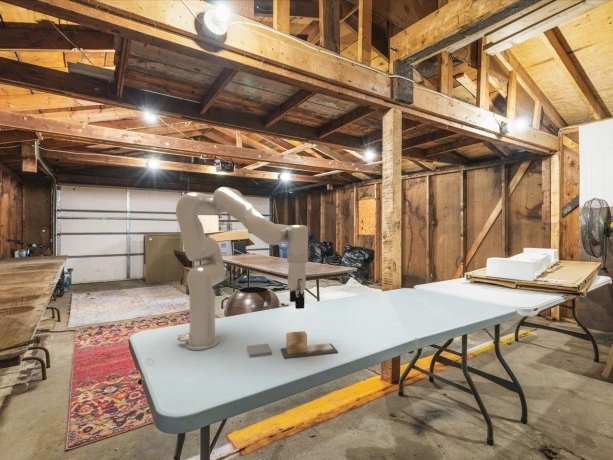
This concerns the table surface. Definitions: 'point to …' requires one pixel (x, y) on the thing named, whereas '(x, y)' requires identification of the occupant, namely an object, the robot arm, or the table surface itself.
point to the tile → (259, 350)
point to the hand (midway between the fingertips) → (296, 304)
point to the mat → (306, 353)
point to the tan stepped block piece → (303, 344)
